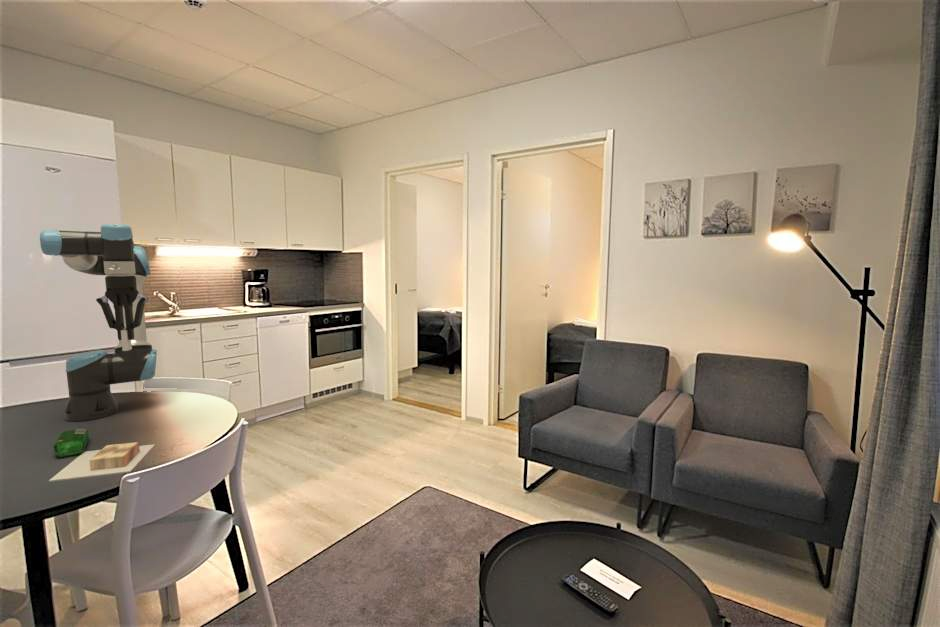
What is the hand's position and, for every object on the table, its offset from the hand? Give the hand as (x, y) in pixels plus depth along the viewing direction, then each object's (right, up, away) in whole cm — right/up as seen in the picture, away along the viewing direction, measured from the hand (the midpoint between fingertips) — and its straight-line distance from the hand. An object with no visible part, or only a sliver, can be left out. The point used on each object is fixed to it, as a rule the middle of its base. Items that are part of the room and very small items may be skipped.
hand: (127, 349), depth 138 cm
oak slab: (+3, -30, -14) cm, 33 cm away
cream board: (+4, -31, -13) cm, 34 cm away
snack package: (-13, -30, -5) cm, 34 cm away
